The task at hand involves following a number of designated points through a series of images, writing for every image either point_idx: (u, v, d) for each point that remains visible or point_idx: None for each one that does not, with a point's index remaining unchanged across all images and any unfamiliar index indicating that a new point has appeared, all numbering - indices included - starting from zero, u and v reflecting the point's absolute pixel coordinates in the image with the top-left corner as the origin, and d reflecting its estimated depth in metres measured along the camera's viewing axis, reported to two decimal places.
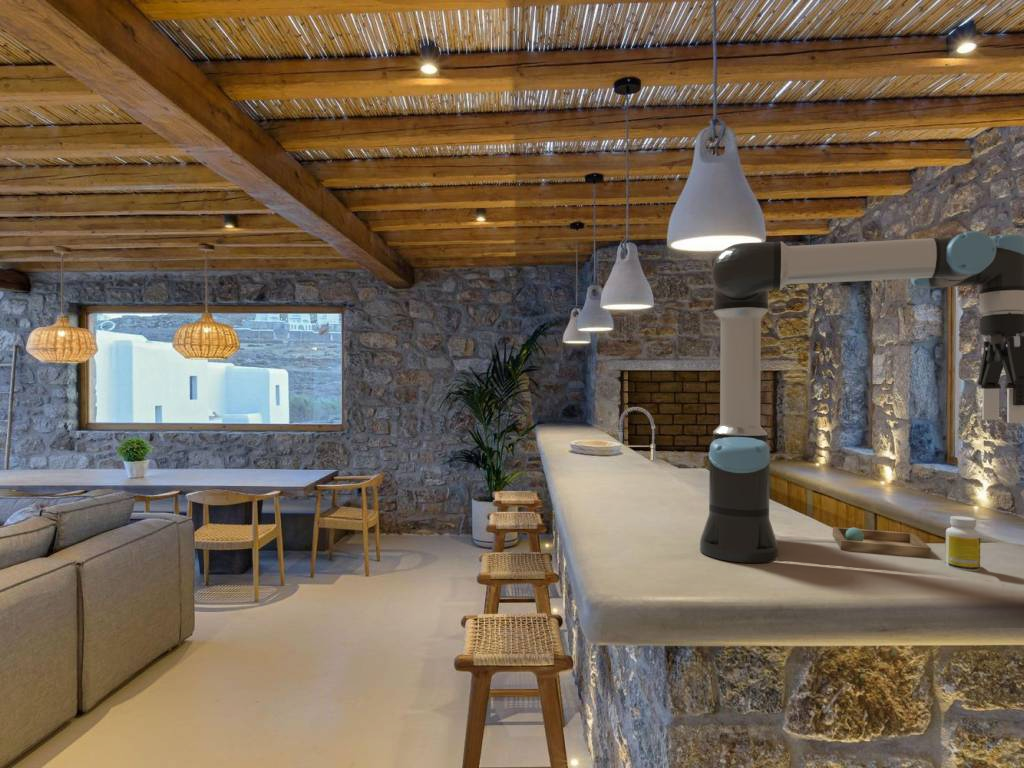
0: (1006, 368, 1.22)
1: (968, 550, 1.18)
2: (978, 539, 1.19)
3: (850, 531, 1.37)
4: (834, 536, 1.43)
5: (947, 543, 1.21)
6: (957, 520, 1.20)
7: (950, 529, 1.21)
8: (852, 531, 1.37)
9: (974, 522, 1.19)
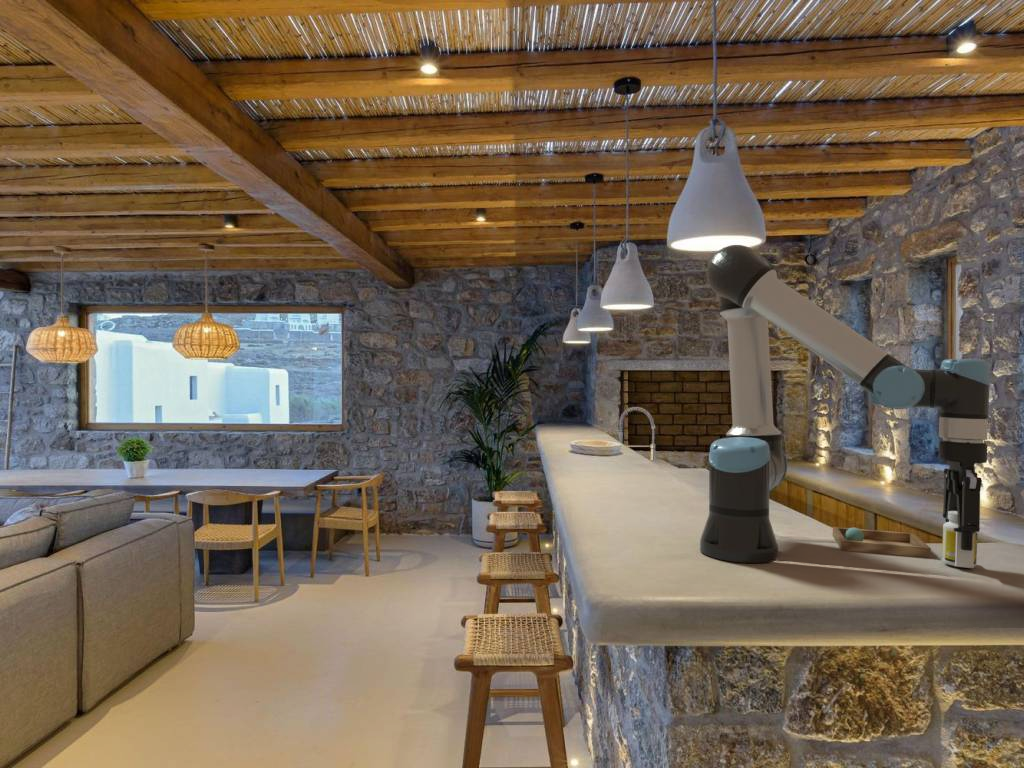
0: (958, 507, 1.18)
1: None
2: (975, 534, 1.19)
3: (850, 531, 1.37)
4: (834, 536, 1.43)
5: (944, 538, 1.22)
6: (955, 515, 1.20)
7: (947, 524, 1.21)
8: (852, 531, 1.37)
9: None
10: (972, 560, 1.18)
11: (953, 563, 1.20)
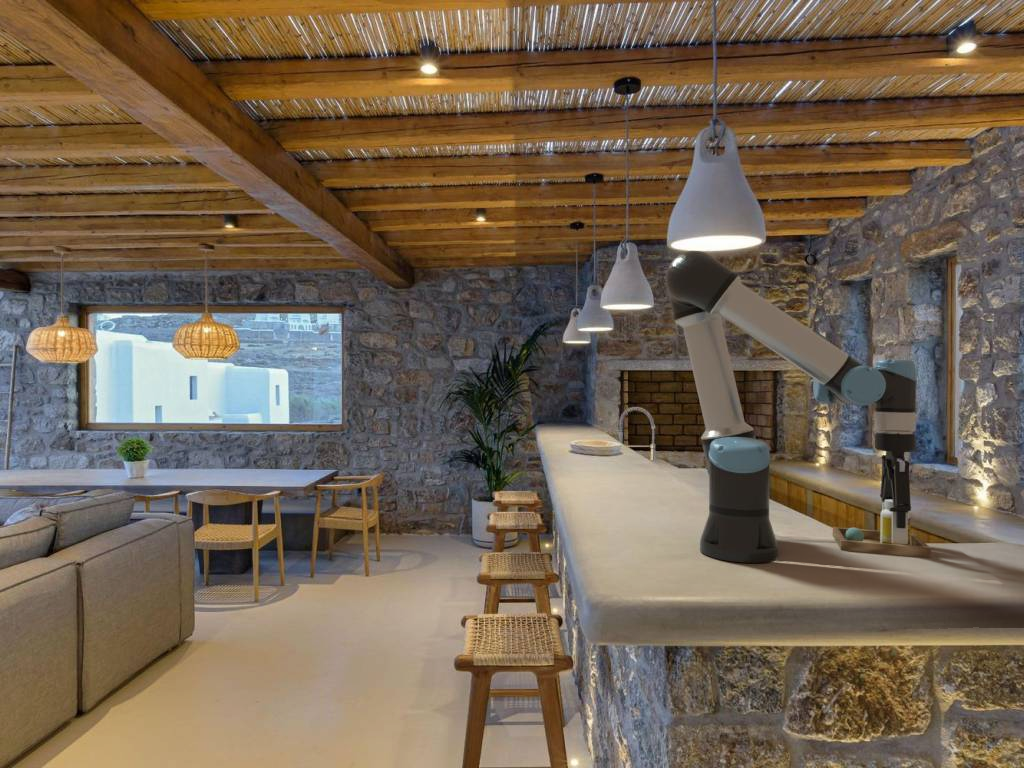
0: (892, 490, 1.32)
1: None
2: (908, 519, 1.33)
3: (850, 531, 1.37)
4: (834, 536, 1.43)
5: (881, 523, 1.36)
6: (890, 503, 1.34)
7: (884, 511, 1.36)
8: (852, 531, 1.37)
9: None
10: (906, 537, 1.30)
11: None
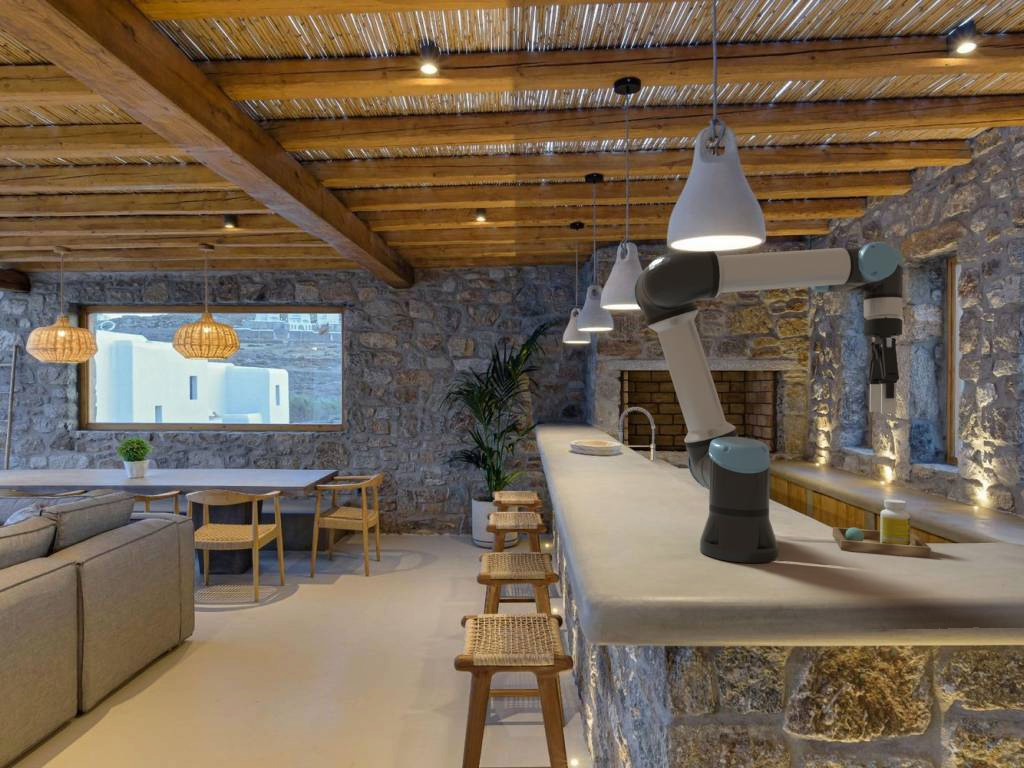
0: (881, 366, 1.39)
1: (899, 530, 1.33)
2: (908, 519, 1.33)
3: (850, 531, 1.37)
4: (834, 536, 1.43)
5: (881, 523, 1.36)
6: (889, 503, 1.34)
7: (884, 511, 1.35)
8: (852, 531, 1.37)
9: (904, 504, 1.34)
10: (895, 407, 1.36)
11: None
